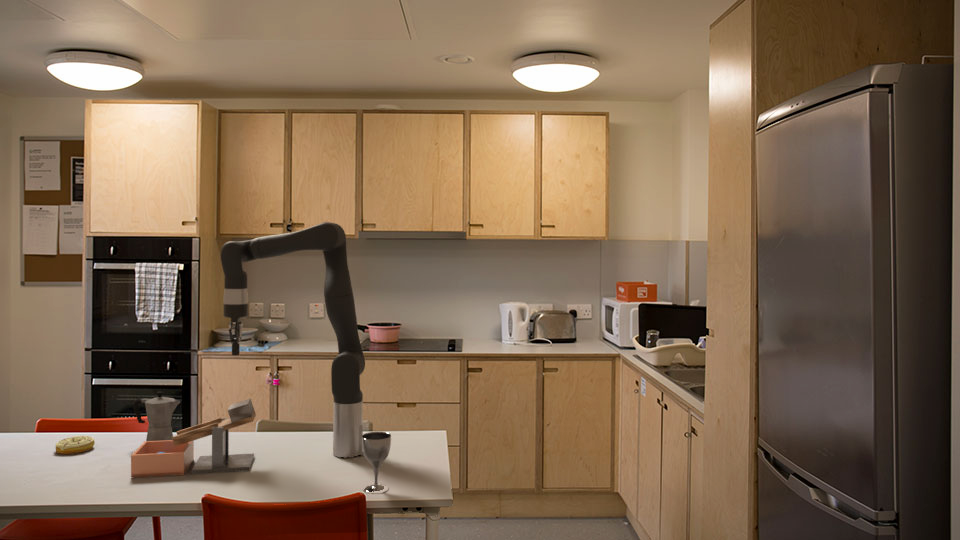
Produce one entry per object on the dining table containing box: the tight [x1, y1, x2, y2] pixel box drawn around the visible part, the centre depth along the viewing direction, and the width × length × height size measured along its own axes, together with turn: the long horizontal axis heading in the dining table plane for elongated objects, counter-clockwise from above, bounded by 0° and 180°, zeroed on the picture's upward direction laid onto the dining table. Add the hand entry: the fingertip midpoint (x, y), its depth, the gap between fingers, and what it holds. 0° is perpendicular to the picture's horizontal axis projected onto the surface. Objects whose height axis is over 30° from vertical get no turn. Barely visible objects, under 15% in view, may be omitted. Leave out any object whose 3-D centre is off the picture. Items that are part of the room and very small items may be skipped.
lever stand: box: [190, 417, 255, 475], centre depth 200 cm, size 16×13×13 cm
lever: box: [172, 398, 257, 447], centre depth 199 cm, size 23×8×6 cm, turn 102°
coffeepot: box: [132, 391, 181, 441], centre depth 219 cm, size 15×9×18 cm, turn 92°
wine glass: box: [362, 431, 392, 493], centre depth 183 cm, size 8×8×15 cm
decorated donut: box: [54, 435, 96, 455], centre depth 213 cm, size 10×11×4 cm
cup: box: [130, 440, 195, 478], centre depth 197 cm, size 14×14×6 cm
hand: (235, 354), depth 216 cm, fingers closed
